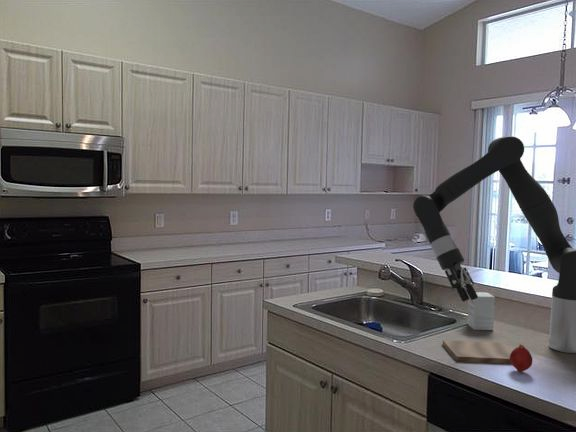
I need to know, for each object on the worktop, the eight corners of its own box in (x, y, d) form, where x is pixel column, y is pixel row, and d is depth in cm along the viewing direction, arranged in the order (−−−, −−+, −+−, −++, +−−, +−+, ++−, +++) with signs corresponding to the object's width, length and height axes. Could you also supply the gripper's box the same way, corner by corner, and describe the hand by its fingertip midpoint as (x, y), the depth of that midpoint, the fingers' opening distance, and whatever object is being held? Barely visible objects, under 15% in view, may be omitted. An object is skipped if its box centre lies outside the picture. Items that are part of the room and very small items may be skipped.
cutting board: (504, 347, 157) (504, 342, 157) (524, 364, 142) (525, 359, 142) (442, 344, 158) (442, 340, 158) (456, 361, 143) (457, 356, 143)
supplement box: (486, 324, 183) (488, 292, 182) (493, 330, 175) (495, 296, 174) (466, 324, 183) (468, 291, 182) (473, 329, 176) (475, 296, 175)
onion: (512, 366, 140) (513, 339, 140) (533, 371, 137) (535, 344, 136) (506, 371, 136) (508, 344, 135) (528, 377, 132) (530, 349, 132)
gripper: (449, 246, 146) (474, 296, 140) (464, 248, 157) (488, 293, 151) (428, 257, 150) (452, 305, 144) (444, 257, 161) (467, 303, 155)
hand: (470, 299), depth 148 cm, fingers open, 8 cm apart
